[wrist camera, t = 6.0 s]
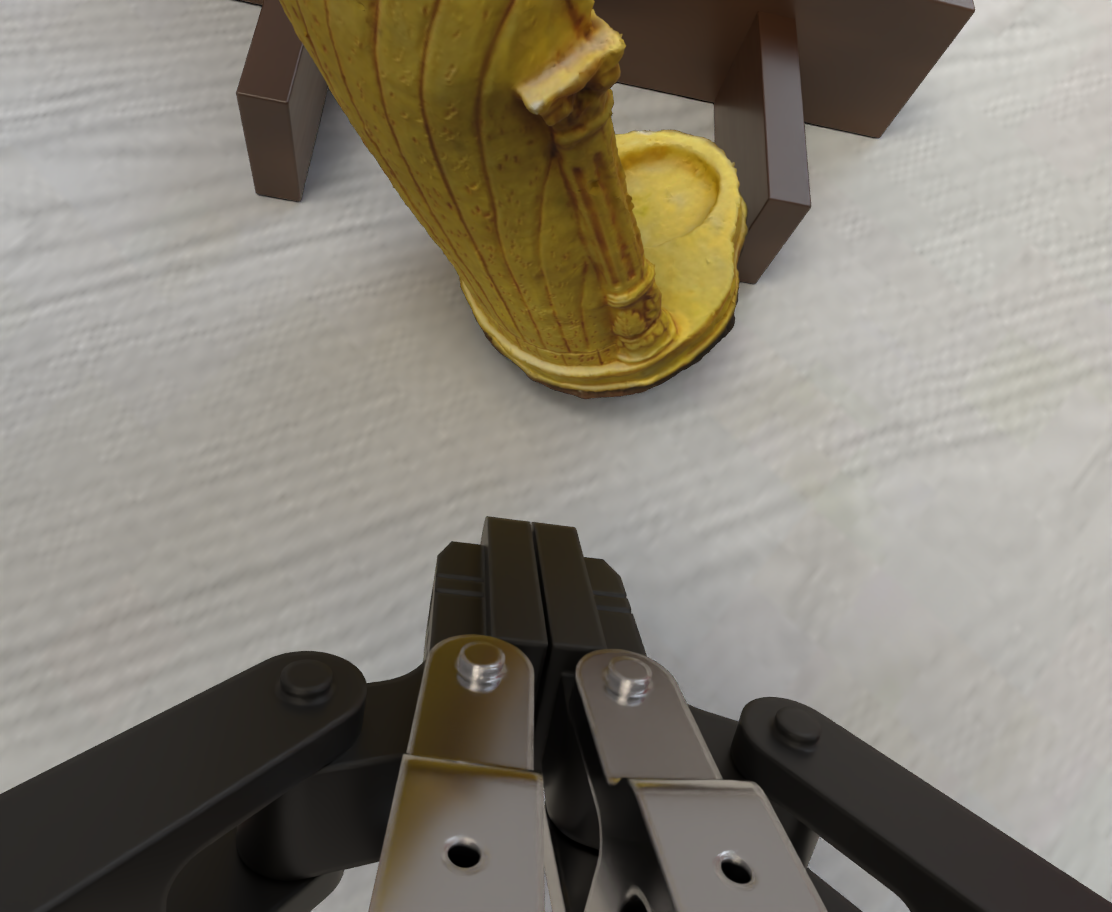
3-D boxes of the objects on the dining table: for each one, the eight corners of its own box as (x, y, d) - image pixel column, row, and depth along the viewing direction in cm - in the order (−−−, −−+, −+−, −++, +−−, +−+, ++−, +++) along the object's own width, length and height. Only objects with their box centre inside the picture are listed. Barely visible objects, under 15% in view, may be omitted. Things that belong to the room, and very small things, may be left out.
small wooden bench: (64, 160, 21) (-19, -13, 17) (150, -54, 25) (100, -246, 20) (901, 311, 25) (1017, 202, 20) (875, 107, 28) (968, -25, 24)
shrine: (303, 455, 19) (134, -341, 6) (284, 183, 22) (138, -770, 9) (739, 418, 22) (1295, -177, 9) (672, 181, 25) (1013, -541, 12)
